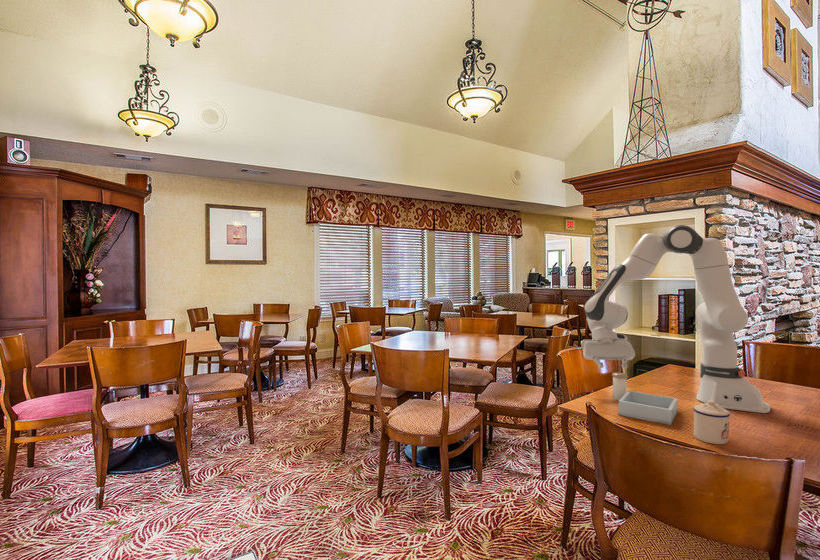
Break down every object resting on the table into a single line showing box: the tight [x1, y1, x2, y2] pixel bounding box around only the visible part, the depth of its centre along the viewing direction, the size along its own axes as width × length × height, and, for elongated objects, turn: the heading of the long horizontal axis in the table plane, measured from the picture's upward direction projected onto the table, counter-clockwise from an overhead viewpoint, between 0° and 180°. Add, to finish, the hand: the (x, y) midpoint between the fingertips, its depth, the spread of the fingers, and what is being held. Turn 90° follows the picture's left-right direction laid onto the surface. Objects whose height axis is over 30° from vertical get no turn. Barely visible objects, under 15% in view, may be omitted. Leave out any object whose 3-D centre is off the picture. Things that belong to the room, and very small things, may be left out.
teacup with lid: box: [693, 400, 731, 445], centre depth 130 cm, size 12×9×12 cm
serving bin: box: [617, 390, 678, 426], centre depth 151 cm, size 16×16×5 cm
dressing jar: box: [611, 371, 628, 401], centre depth 168 cm, size 5×5×10 cm
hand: (613, 367), depth 174 cm, fingers open, 8 cm apart
